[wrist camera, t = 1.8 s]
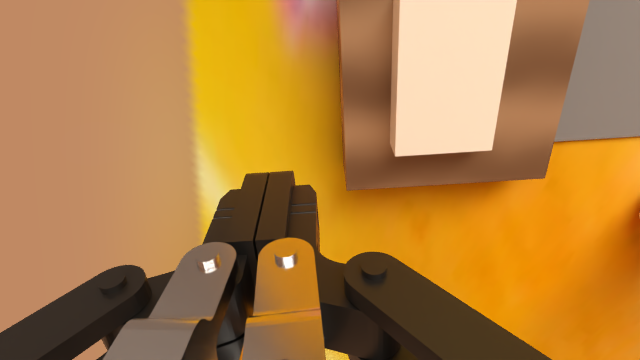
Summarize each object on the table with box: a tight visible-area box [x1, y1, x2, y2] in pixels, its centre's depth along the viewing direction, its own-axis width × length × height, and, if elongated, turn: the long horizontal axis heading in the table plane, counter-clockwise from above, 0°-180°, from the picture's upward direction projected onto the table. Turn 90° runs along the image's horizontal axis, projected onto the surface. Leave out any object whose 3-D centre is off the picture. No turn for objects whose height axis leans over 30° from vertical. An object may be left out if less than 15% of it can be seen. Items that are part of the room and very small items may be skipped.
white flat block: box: [390, 0, 517, 157], centre depth 23 cm, size 9×6×2 cm, turn 4°
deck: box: [337, 0, 590, 190], centre depth 26 cm, size 16×14×4 cm
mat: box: [554, 0, 640, 142], centre depth 27 cm, size 15×11×1 cm
